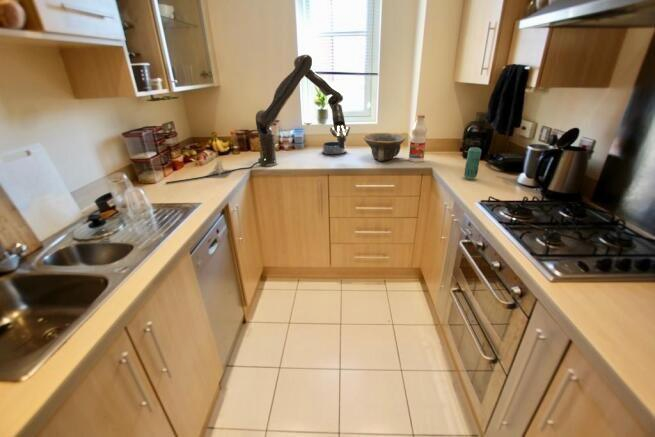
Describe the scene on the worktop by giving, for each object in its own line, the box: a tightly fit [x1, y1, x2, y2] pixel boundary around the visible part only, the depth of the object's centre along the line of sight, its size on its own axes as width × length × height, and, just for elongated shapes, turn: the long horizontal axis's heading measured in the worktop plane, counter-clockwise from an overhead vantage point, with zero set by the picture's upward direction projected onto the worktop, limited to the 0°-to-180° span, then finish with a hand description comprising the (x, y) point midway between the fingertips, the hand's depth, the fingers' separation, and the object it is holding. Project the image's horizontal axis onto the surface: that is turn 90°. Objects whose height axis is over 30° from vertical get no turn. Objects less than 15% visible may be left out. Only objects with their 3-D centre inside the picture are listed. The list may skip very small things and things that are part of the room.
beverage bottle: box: [463, 140, 483, 179], centre depth 164 cm, size 6×7×20 cm
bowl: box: [363, 132, 406, 162], centre depth 206 cm, size 27×26×15 cm
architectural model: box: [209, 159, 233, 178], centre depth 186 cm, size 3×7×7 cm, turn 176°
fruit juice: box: [408, 114, 428, 163], centre depth 199 cm, size 9×9×28 cm
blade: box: [338, 131, 345, 148], centre depth 204 cm, size 3×5×10 cm, turn 9°
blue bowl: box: [322, 141, 347, 155], centre depth 229 cm, size 17×17×6 cm
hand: (342, 141), depth 202 cm, fingers closed on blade, 3 cm apart
